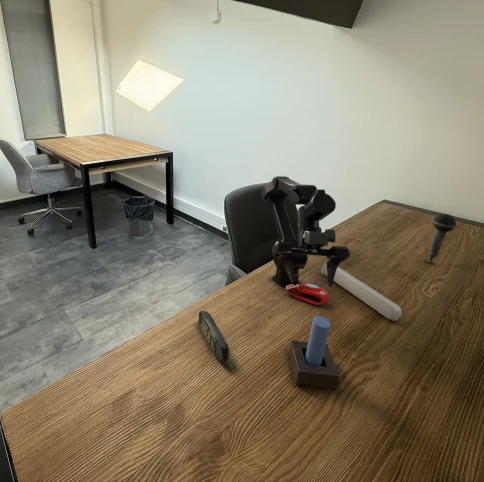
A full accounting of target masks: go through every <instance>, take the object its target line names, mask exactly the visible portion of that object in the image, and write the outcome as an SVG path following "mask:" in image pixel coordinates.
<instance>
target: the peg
mask: <svg viewBox="0 0 484 482" xmlns="http://www.w3.org/2000/svg"><path fill="white" fill-rule="evenodd" d="M330 329H331V321H330V320H329V319H328V318H326V317H325V316H322V315H316V316H314V317H313V320H312V325H311V329H310V334H309V338H308V341H307V342H308V347H307V351H306V356H305V362H306V364H307V365H315V366H321V362H322V358H323V354H324V350H325V346H326V344H327V342H328V341H327V340H328V337H329V334H330Z"/></svg>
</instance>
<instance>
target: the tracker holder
mask: <svg viewBox="0 0 484 482" xmlns="http://www.w3.org/2000/svg"><path fill="white" fill-rule="evenodd" d="M286 287H287V288H286V289H285V290H286V291H287V293H288V294H289V295H290V296H292V297H294V298H296V299H298V300H301V301H304V302H305V303H309V304H312V305H314V306H324V305H326V304H328V303H329V300H330V294H329V293H328V292H327V291H326V290H325V289H323V288H321V287H320V286H319V285H317V284H313V283H299V284H297V285H294V284H291V285H288V286H286ZM293 291H297V292H300V293H303V294H307V295H310V296H314V297H316V298H318V299H320V300H321V301H320V302H318V301H316V300H313V299H310V298H307V297H305V296H302V295H299V294H296V293H294V292H293Z"/></svg>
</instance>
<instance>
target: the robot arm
mask: <svg viewBox="0 0 484 482" xmlns="http://www.w3.org/2000/svg"><path fill="white" fill-rule="evenodd" d="M287 197H288V198H287ZM261 199H262V200H263V203H264V205H265V206H266V207H267V208H268V209H269V210H270V211H271V213H272V217H273V222H274V225H275V229H276V232H277V236H278V241H276V242H275V243H274V244H273V246H272V251H271V254H272V256H273V263H274V265H275V267H276V271H275V275H274V276H273V277H271V280H272V281H274V282H275V283H276V284H278V285H279V286H281V287H282V288H284V289H285V290H286V288H287V287H286V286H288V285H291V284H294V285H297V284H299V285H300V280H299V278H300V273H299V271H300V270H304V269H305V267H306V265H307V263H308V260H309V256H316V257H326V259H327V261H326V262H325V263H326V264H327V276H326V277H327V284H328V287H329V288H331V287H333V284H334V281H333V280H334V277H335V273H336V270H337V268H338V267H339V265H340V264H342V263H343V262H345V261H347V260H348V259H350V258H351V257H352V255H351V250H350V249H349V248H348V246H342V245H332V246H331V247H330V248H324V247H328V246H329V243H336V239H337V238H336V236H337V234H336V231H335V229H330V228H325V230H324V232H322V227H321V226H320V221H323V219H325V218H326V217H328V216H329V215H330V214H332V213H333V212H334V211H335V210H336V207H337V206H336V205H337V204H336V200H335V199H334V198H333V197H332V196H331V195H329V194H328V193H326V189H318V187H317V186H316V185H315V184H304V183H299V182H297V181H296V180H293V179H291V178H289V176H286V175H285V176H279V175H277V176H276V175H275V176H274V177H273V178H272V179H271V181H269V182H267V183H266V184H264V186H263V188H262V191H261ZM286 200H288V201H289V202H290V203H291V204H292V205H295V206H298V205H299V207H298V209H296V211H295V213H294V215H295V216H296V224H297V225H296V228H297V229H296V230H297V231H296V237H297V239H296V237H295V234H294V231H293V228H292V225H291V222H290V219H289V215H288V213H287V210H286V206H285V203H286ZM300 205H301V206H300Z"/></svg>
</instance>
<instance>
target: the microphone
mask: <svg viewBox="0 0 484 482" xmlns="http://www.w3.org/2000/svg"><path fill="white" fill-rule="evenodd" d="M431 222H432V226H433V227H434V229H435V230H434V234H433V237H432V240H431V244H430V246H429V251H428V255H429V257H430V258H429V259H428V260H427V262H428V263H429V264H432V263H433V259H434V258H435V257H438V255H439V252H440V250H441V248H442V245H443V242H444V240H445V238H446V235H447V233H448V232H451V231H453V230H454V229H455V228H457V221H456V219H455V218H454V217H453V215H451V214H448V213H439V214H437V215H435V216H434V217H433V218H432V220H431Z"/></svg>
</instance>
